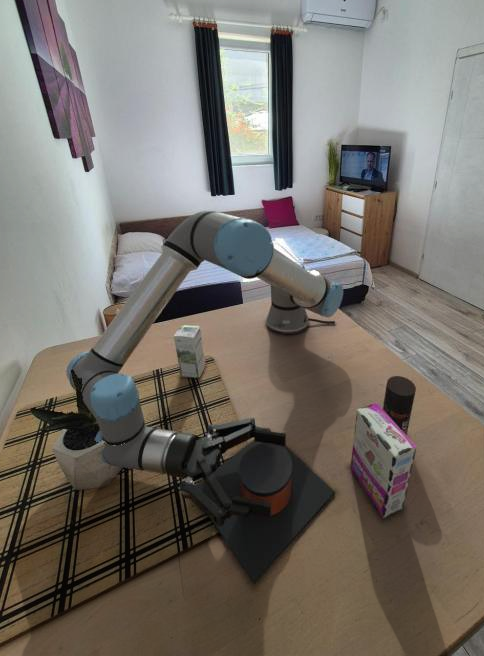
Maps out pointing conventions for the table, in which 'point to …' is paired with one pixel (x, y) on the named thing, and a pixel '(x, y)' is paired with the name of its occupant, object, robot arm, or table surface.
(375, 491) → the candy bar box
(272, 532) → the mat
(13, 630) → the table surface
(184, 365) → the syrup box
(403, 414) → the deodorant
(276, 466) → the jar
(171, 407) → the table surface
